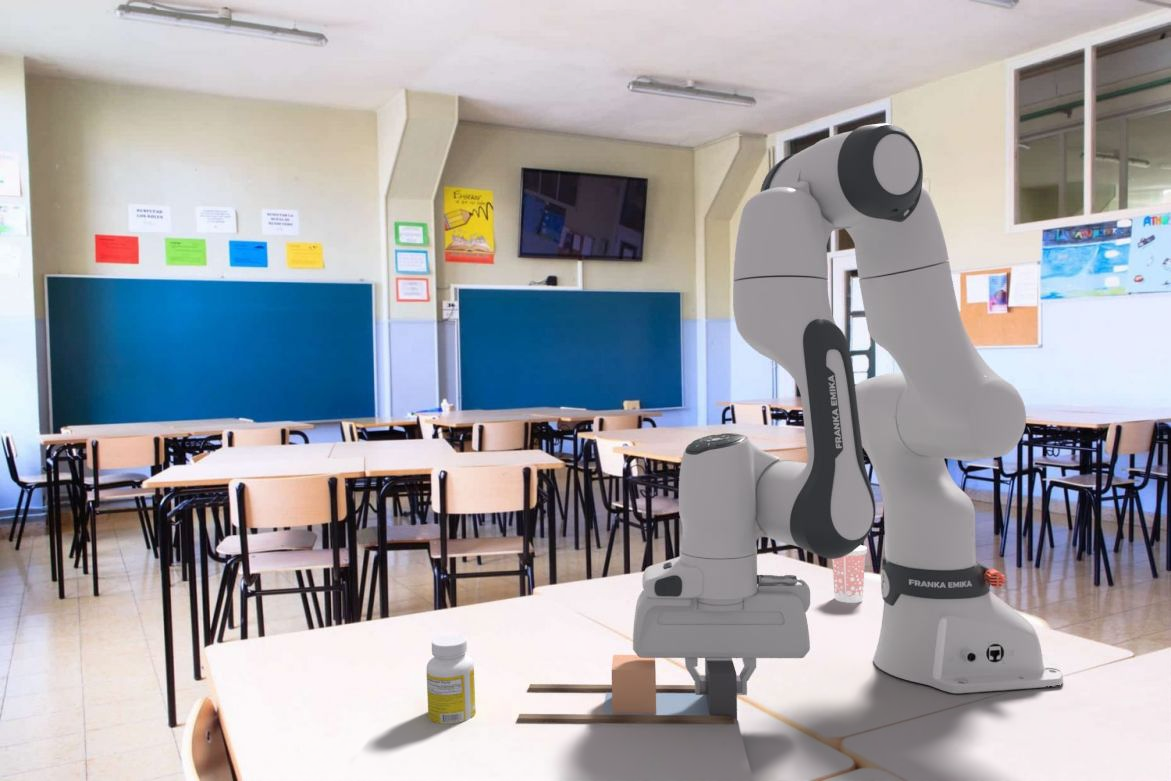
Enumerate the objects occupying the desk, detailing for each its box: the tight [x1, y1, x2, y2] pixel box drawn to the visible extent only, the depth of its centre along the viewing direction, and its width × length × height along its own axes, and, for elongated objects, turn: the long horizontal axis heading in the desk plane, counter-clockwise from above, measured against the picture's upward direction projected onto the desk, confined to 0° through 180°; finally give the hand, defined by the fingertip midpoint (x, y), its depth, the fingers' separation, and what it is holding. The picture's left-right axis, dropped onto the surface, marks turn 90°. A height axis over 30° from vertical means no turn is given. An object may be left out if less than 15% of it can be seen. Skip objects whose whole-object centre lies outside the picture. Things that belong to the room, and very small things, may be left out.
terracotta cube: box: [611, 654, 657, 714], centre depth 98 cm, size 5×5×5 cm
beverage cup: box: [831, 544, 868, 604], centre depth 143 cm, size 6×6×14 cm
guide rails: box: [517, 683, 735, 725], centre depth 98 cm, size 24×10×2 cm, turn 86°
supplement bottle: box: [426, 634, 476, 725], centre depth 97 cm, size 5×5×10 cm
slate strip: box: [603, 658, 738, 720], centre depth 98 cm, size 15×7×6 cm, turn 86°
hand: (720, 693), depth 97 cm, fingers closed on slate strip, 3 cm apart
